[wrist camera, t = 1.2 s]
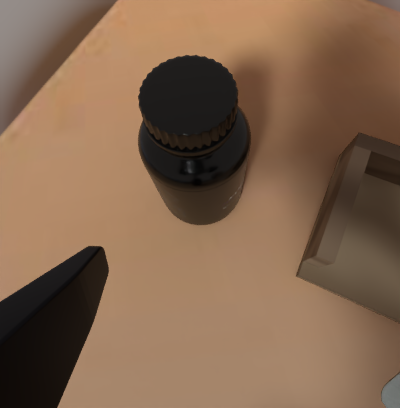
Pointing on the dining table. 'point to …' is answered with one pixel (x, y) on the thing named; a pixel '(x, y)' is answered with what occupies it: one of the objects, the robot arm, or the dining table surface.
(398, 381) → the mounting bracket
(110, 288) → the dining table surface
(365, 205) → the walnut well
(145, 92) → the supplement bottle
